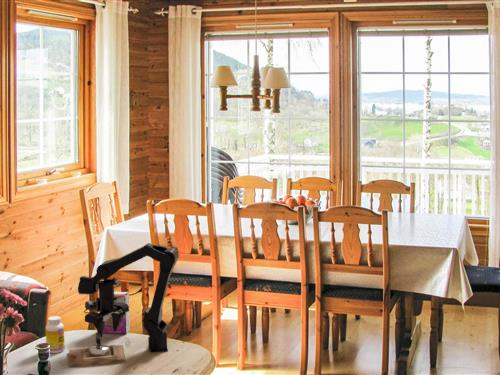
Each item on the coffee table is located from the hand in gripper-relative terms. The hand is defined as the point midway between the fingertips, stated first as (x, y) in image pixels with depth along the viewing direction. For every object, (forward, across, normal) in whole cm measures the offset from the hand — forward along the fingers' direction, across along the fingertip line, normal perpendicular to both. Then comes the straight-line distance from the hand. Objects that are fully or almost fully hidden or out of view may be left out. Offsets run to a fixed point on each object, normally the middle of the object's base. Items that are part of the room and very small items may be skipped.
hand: (107, 334), depth 296 cm
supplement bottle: (+5, +13, -14) cm, 20 cm away
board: (+5, +10, +4) cm, 12 cm away
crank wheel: (+4, +9, +4) cm, 10 cm away
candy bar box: (+6, -14, -10) cm, 18 cm away
